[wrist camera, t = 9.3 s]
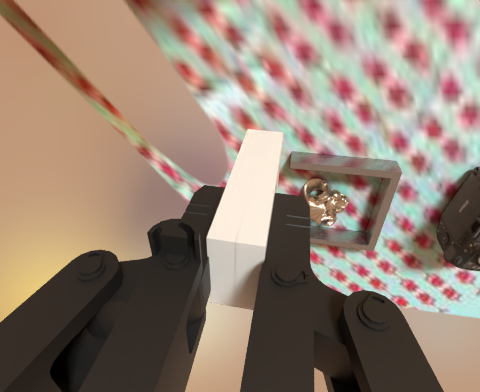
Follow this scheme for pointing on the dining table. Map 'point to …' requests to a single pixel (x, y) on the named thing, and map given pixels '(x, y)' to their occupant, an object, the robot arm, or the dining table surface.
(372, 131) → the dining table surface
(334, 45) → the dining table surface
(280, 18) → the dining table surface
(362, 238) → the frame
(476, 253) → the camera
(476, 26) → the dining table surface
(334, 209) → the ornament
